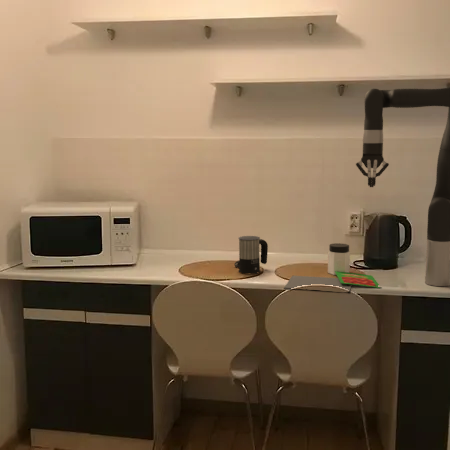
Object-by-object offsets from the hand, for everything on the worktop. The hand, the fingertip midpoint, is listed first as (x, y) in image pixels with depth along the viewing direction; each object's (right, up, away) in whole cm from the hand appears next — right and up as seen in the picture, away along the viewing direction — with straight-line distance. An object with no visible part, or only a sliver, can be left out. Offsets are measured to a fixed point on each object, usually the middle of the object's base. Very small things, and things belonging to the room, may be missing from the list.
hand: (371, 187), depth 228 cm
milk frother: (-48, -34, +24) cm, 64 cm away
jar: (-10, -35, +17) cm, 40 cm away
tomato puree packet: (-6, -38, -8) cm, 39 cm away
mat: (-21, -38, -2) cm, 43 cm away
